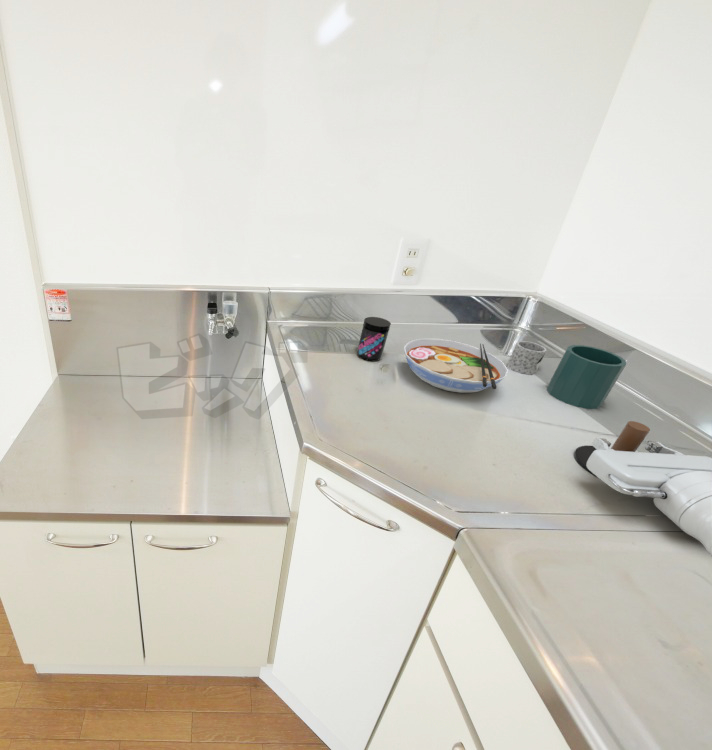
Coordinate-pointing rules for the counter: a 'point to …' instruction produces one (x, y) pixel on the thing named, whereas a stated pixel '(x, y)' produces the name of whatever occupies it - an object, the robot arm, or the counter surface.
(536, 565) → the counter surface
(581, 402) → the teal faceted tumbler
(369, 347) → the supplement container
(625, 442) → the lid
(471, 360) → the ramen bowl
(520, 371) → the mug
